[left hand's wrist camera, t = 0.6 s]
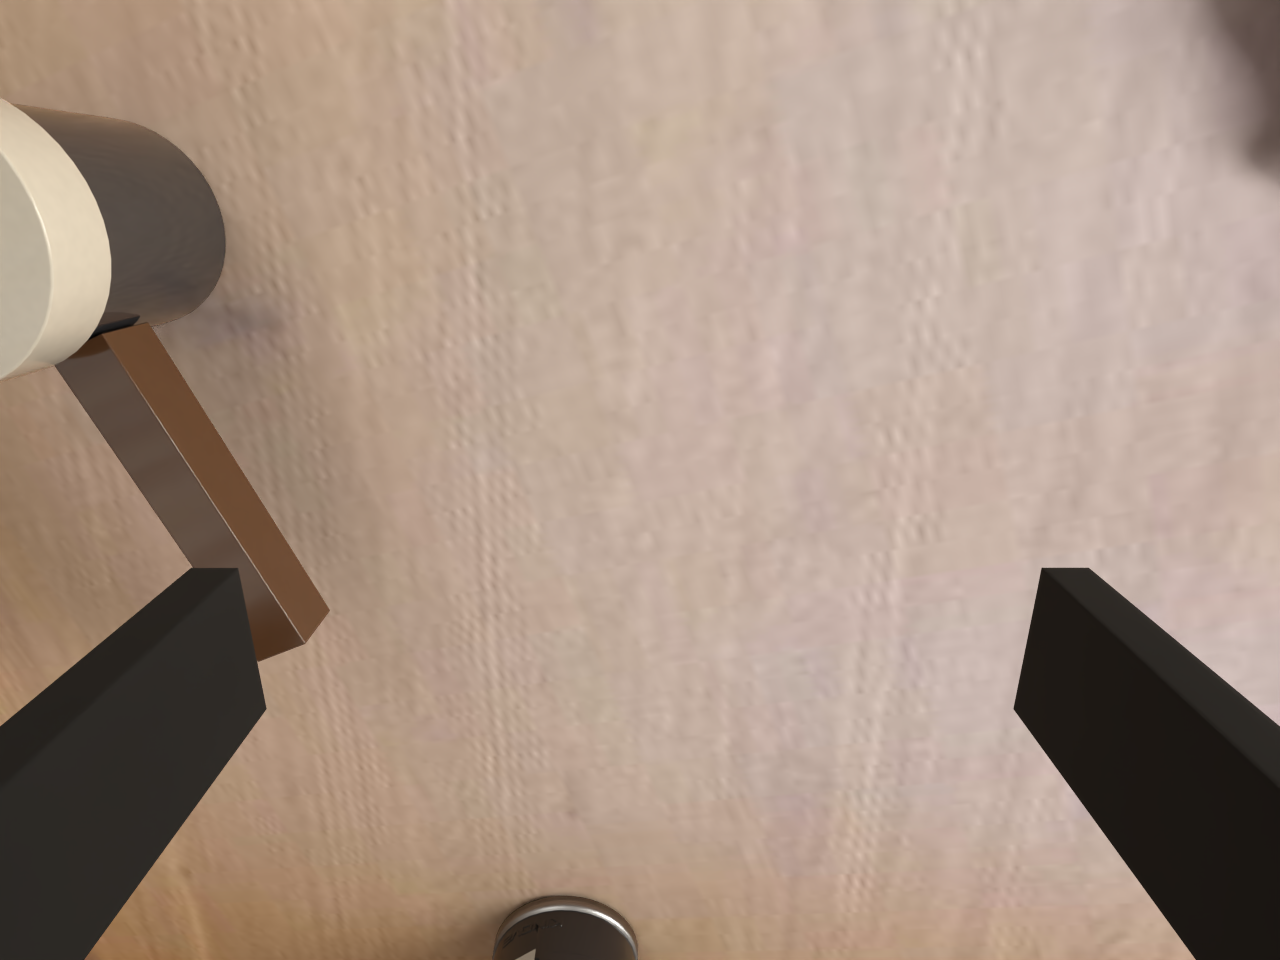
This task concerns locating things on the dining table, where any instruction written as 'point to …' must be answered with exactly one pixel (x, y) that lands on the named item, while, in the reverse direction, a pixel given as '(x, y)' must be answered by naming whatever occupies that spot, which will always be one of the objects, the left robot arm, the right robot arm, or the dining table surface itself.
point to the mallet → (172, 368)
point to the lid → (46, 250)
